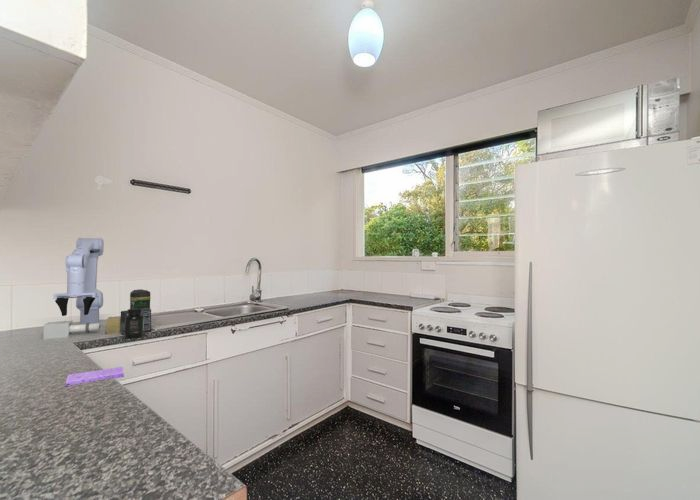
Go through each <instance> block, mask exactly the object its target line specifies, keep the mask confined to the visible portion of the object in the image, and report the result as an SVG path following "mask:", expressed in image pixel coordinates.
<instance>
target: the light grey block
mask: <svg viewBox="0 0 700 500" xmlns="http://www.w3.org/2000/svg"><path fill="white" fill-rule="evenodd" d="M73 322H74V321H73V320H62V321H49V322H47V323H45V324H44V325H43V338H42V339H43V340H44V341H47V340H56V339H65V338H67V339H68V338H70V337H72V335H73V333H69V325H74V324H73Z"/></svg>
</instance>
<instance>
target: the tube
mask: <svg viewBox="0 0 700 500" xmlns="http://www.w3.org/2000/svg"><path fill="white" fill-rule="evenodd" d="M100 324H101V323H100V322H99V323H94V324H90V323H86V324H81V325H80V324H73V325H69V333H72V334H74V333H83V332H85V334H86V333H90V332H95V331H100V329H101V325H100Z"/></svg>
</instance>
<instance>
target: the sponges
mask: <svg viewBox="0 0 700 500" xmlns="http://www.w3.org/2000/svg"><path fill="white" fill-rule="evenodd" d="M109 375H110V376H111V377H112V378H114V379H120V378H123V377H125V371H124V367H123V366H119V367H115V368H114V367H112V368H106V369H99V370H94V371H86V372H77V373H71V374H67V378H66V380H65V387H66V386H69V385H75V384H80V383H86V382H91V381H96V380H101V379H108V378H111V377H110V376H109ZM114 379H113V380H114Z"/></svg>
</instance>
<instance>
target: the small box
mask: <svg viewBox="0 0 700 500" xmlns="http://www.w3.org/2000/svg"><path fill="white" fill-rule="evenodd" d="M141 314H142V315H143V316H144V333H150V332H152V308H150V309H147V308H144V309H141ZM120 316H121V331H120V335H122V336H125V317H126V316H128V309H127V310H121V311H120Z"/></svg>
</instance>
